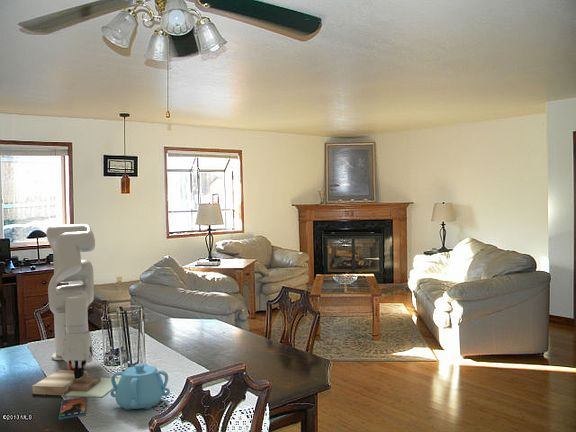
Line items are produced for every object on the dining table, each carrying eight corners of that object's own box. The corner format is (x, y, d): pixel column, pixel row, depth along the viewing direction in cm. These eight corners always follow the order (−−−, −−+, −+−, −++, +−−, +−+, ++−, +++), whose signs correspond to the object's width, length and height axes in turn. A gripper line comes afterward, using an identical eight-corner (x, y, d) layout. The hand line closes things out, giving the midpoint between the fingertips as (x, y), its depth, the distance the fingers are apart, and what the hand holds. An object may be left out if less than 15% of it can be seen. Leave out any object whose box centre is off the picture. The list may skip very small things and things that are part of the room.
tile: (83, 380, 193) (83, 376, 193) (100, 381, 192) (100, 377, 192) (68, 390, 183) (68, 386, 183) (86, 391, 182) (86, 387, 182)
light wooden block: (59, 377, 198) (58, 370, 198) (87, 378, 196) (87, 371, 196) (32, 393, 182) (32, 385, 182) (63, 395, 180) (63, 387, 180)
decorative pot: (153, 390, 183) (151, 353, 183) (173, 404, 171) (172, 364, 170) (108, 403, 173) (106, 364, 172) (127, 418, 161) (125, 376, 160)
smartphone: (58, 418, 161) (61, 399, 175) (58, 422, 161) (62, 403, 175) (85, 413, 163) (87, 395, 177) (86, 417, 163) (87, 399, 178)
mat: (90, 378, 197) (90, 377, 196) (124, 379, 194) (124, 378, 194) (65, 395, 180) (65, 394, 180) (102, 397, 178) (101, 396, 178)
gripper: (52, 330, 184) (54, 380, 185) (90, 331, 182) (92, 381, 183) (64, 325, 192) (66, 373, 193) (101, 326, 190) (102, 374, 190)
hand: (79, 377), depth 188 cm, fingers closed
